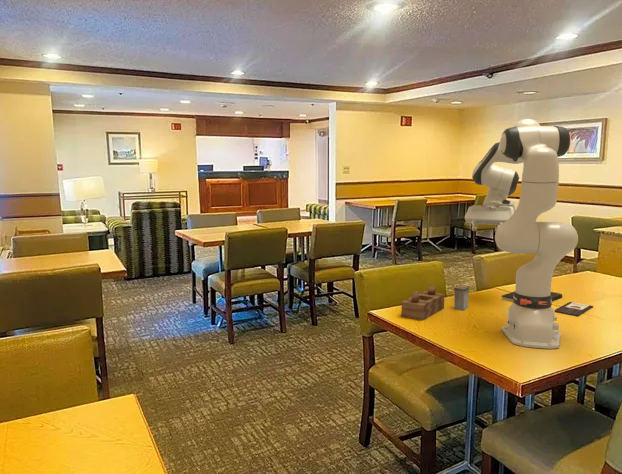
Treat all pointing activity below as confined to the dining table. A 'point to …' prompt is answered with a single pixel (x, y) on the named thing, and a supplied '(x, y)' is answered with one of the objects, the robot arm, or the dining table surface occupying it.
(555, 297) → the hardcover book
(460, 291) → the grey upright block
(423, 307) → the brown block with knob
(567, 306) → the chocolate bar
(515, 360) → the dining table surface
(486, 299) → the dining table surface
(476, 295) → the dining table surface
